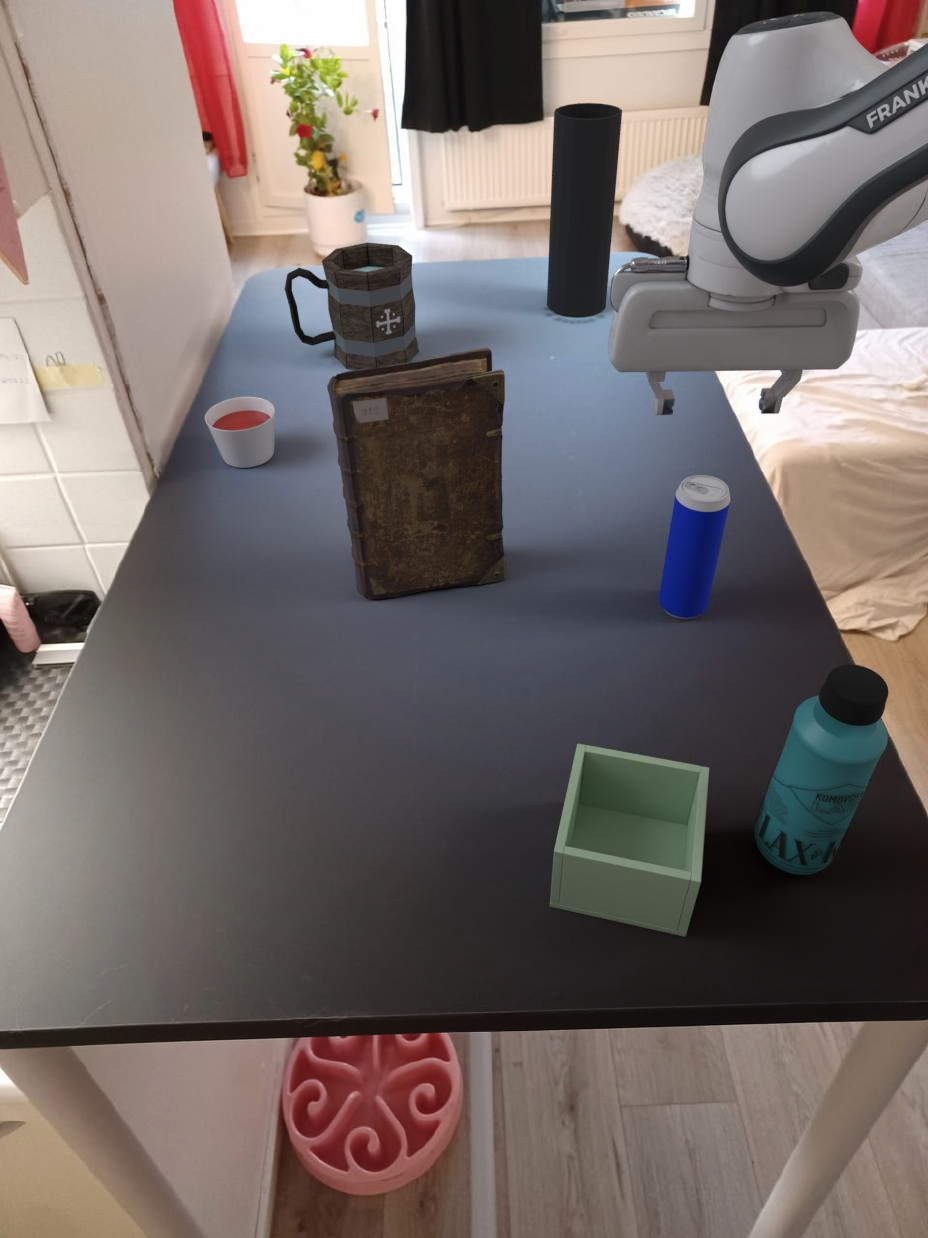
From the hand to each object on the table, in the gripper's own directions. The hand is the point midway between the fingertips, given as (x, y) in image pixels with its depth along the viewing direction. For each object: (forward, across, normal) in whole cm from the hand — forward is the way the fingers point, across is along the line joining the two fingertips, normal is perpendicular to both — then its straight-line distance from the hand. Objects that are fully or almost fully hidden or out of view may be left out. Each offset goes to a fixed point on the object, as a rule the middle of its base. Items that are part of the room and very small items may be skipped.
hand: (715, 411), depth 80 cm
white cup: (+23, -53, +31) cm, 65 cm away
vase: (+23, -5, +79) cm, 82 cm away
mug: (+23, -42, +61) cm, 77 cm away
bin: (+23, -10, -32) cm, 41 cm away
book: (+23, -27, +5) cm, 36 cm away
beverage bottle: (+23, +4, -31) cm, 39 cm away
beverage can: (+23, 0, -1) cm, 23 cm away
